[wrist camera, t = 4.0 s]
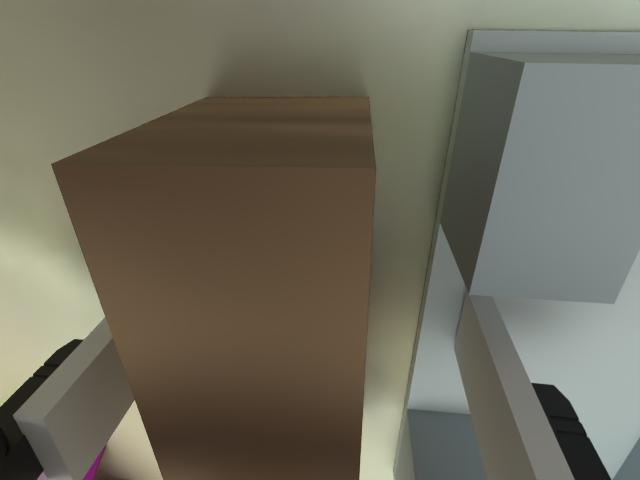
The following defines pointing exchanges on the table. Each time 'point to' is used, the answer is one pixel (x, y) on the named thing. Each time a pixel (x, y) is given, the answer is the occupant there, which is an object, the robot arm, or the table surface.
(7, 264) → the table surface
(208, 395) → the wooden block
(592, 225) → the jig
